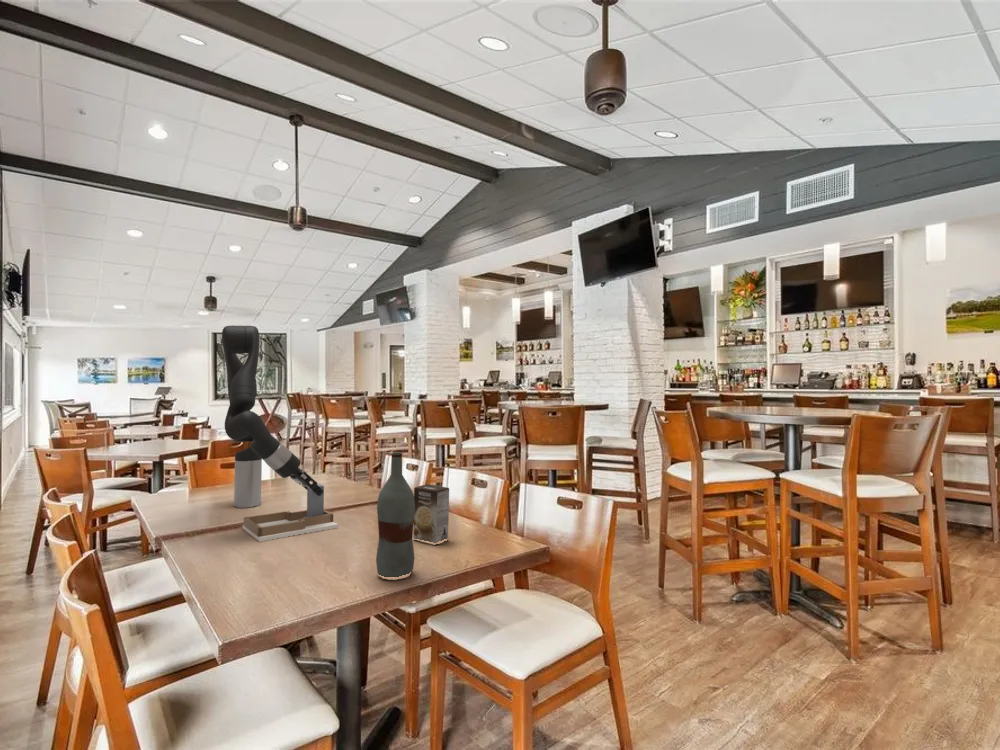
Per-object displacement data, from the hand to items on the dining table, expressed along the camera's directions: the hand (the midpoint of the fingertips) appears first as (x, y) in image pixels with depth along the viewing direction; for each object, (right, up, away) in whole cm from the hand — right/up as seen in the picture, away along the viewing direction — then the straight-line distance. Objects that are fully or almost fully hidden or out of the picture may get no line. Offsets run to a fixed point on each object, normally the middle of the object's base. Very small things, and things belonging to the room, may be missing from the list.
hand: (316, 491), depth 176 cm
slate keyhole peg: (0, -9, 0) cm, 9 cm away
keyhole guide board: (-6, -11, -6) cm, 13 cm away
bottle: (+35, -11, -45) cm, 58 cm away
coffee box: (+40, -11, -17) cm, 45 cm away
